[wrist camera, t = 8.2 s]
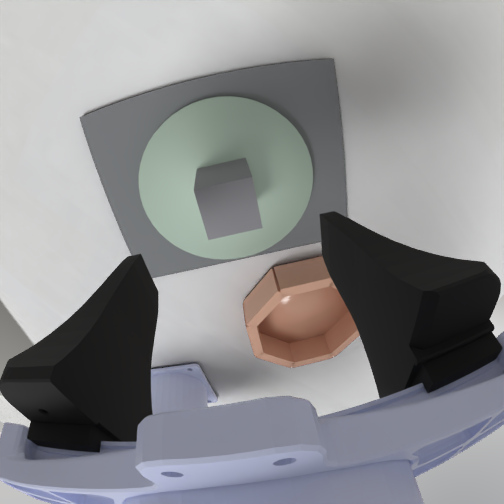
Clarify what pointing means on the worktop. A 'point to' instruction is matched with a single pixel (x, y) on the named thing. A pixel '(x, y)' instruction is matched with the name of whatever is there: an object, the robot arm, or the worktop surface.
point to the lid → (225, 177)
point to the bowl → (298, 315)
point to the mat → (225, 84)
